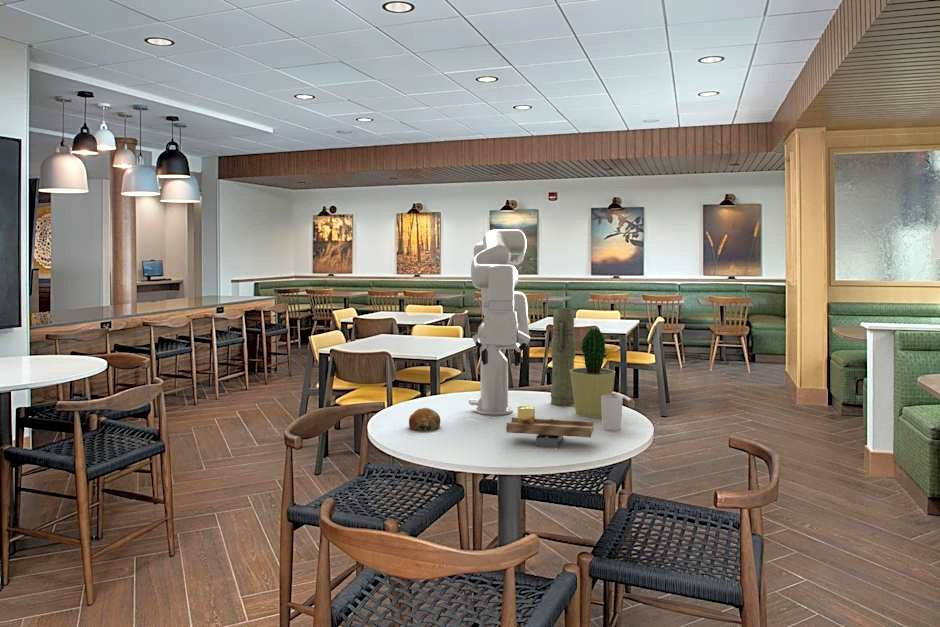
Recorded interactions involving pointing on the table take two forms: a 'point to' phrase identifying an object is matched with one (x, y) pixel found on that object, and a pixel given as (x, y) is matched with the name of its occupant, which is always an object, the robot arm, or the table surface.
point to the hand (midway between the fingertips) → (501, 364)
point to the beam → (552, 427)
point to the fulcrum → (548, 441)
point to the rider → (526, 415)
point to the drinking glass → (611, 412)
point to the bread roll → (424, 420)
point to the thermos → (562, 357)
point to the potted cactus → (591, 376)
